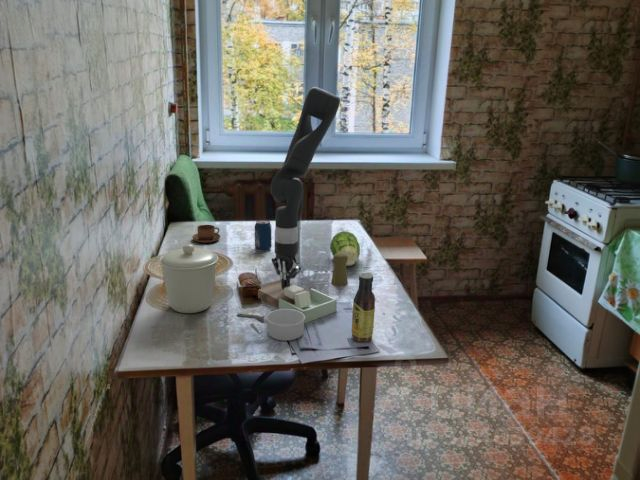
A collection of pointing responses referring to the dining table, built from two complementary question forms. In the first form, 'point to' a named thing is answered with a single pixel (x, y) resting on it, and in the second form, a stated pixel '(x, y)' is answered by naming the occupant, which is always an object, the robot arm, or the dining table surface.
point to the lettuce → (346, 246)
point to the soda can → (263, 235)
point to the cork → (340, 270)
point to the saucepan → (282, 323)
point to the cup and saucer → (206, 234)
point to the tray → (314, 306)
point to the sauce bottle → (363, 309)
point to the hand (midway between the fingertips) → (285, 288)
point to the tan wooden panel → (274, 293)
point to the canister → (189, 278)
